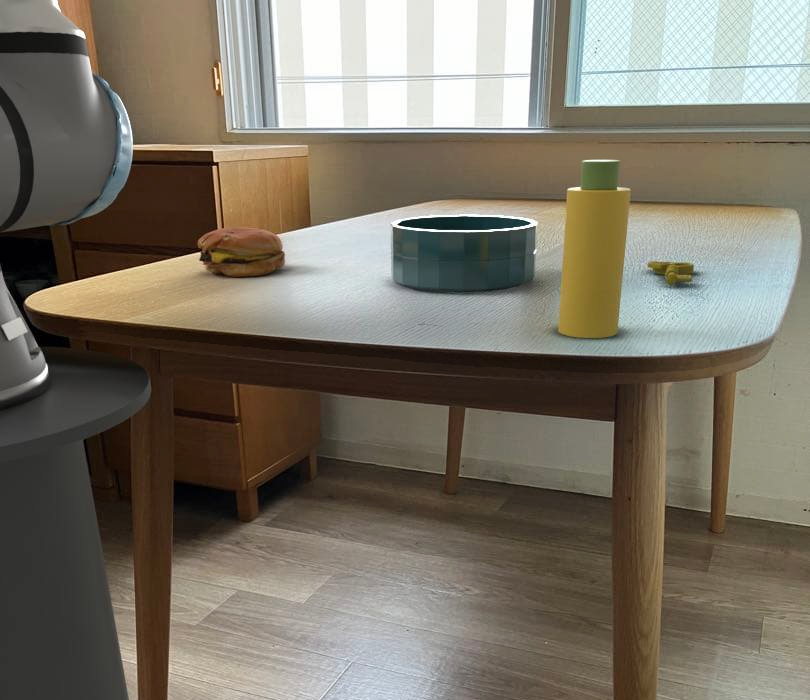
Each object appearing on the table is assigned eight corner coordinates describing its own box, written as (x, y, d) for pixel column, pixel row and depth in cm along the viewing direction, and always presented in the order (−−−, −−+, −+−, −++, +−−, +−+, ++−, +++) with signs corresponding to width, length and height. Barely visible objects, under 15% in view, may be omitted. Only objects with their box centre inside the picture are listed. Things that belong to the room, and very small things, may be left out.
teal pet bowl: (365, 287, 93) (363, 226, 90) (433, 266, 105) (434, 213, 102) (497, 299, 86) (500, 234, 83) (555, 276, 98) (558, 218, 95)
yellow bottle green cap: (549, 334, 72) (559, 161, 66) (570, 323, 76) (581, 158, 70) (606, 341, 70) (622, 162, 64) (624, 329, 74) (641, 159, 68)
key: (694, 274, 90) (644, 272, 91) (693, 287, 90) (642, 285, 91) (694, 259, 100) (648, 258, 101) (693, 271, 100) (647, 269, 102)
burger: (283, 263, 108) (280, 222, 106) (287, 275, 100) (284, 232, 98) (201, 266, 107) (196, 225, 105) (198, 279, 98) (193, 235, 96)
